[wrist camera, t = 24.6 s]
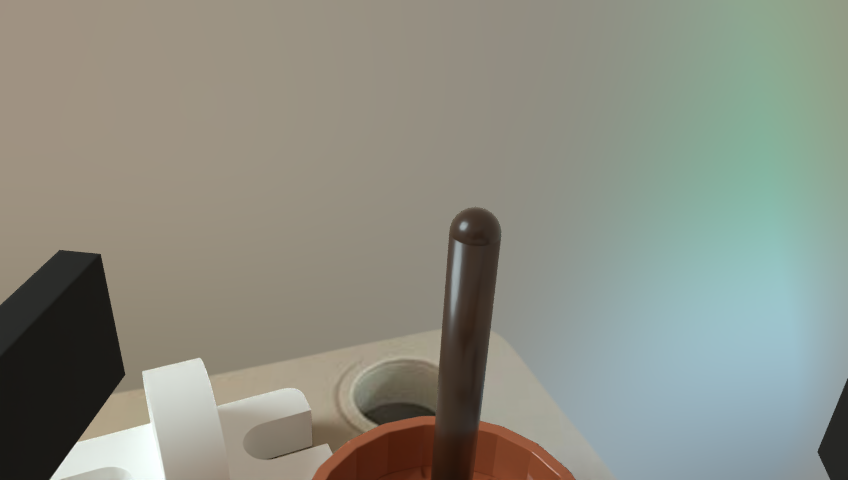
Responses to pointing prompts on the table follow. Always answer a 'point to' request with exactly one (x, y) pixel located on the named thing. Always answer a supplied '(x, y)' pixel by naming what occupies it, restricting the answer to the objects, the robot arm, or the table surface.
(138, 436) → the slotted bracket
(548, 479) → the bowl
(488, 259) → the dark brown post
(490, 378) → the table surface
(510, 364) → the table surface
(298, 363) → the table surface
